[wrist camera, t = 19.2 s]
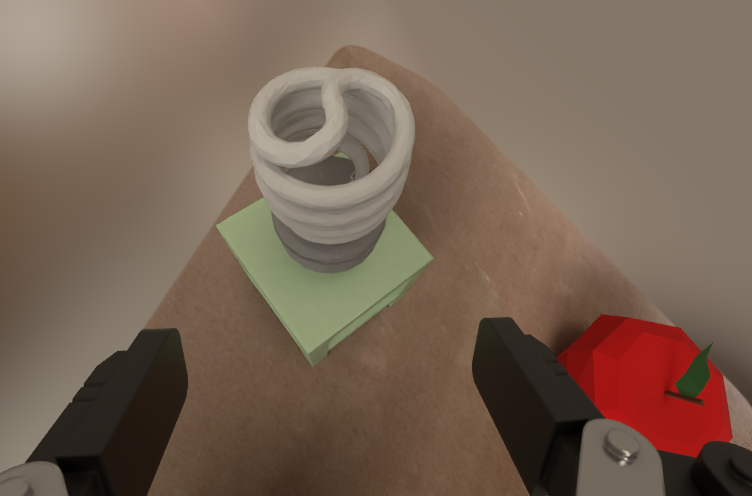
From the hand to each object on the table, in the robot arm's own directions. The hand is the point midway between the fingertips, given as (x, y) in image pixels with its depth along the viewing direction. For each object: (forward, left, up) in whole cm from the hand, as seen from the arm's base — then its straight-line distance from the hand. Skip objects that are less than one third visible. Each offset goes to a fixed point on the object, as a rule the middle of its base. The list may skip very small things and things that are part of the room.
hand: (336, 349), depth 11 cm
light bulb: (-4, -6, -11) cm, 13 cm away
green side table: (-4, -6, -20) cm, 22 cm away
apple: (-16, +14, -20) cm, 30 cm away
